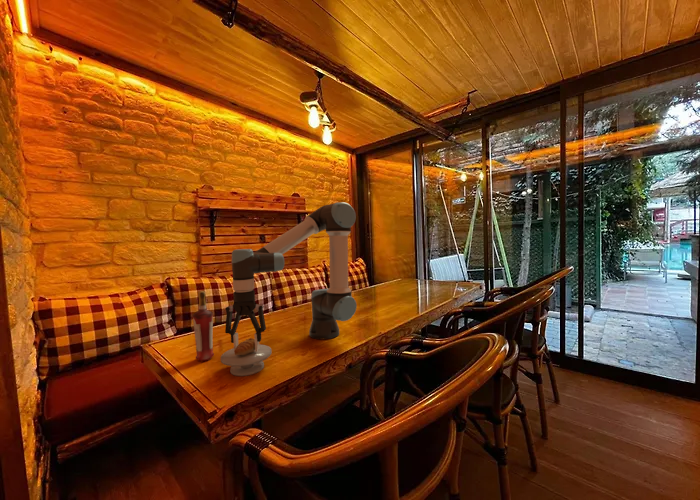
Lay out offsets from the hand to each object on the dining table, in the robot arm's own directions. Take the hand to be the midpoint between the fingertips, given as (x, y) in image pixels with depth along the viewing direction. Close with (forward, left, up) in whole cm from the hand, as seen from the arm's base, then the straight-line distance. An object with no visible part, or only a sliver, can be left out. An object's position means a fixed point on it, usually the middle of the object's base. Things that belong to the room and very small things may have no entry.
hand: (246, 350), depth 109 cm
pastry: (0, 0, 0) cm, 0 cm away
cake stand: (0, 0, -7) cm, 7 cm away
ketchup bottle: (+21, -11, -7) cm, 25 cm away
